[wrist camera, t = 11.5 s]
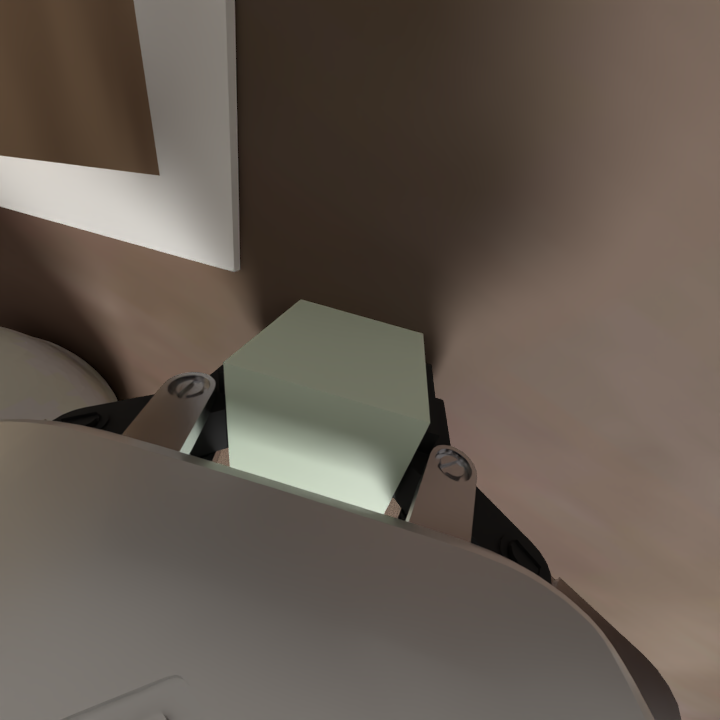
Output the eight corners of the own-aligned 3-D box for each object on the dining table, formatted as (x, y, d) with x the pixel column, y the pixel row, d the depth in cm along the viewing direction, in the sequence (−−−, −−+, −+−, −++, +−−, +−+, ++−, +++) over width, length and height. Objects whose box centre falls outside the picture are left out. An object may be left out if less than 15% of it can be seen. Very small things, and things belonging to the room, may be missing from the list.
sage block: (423, 333, 10) (430, 422, 6) (388, 423, 13) (375, 530, 9) (300, 299, 10) (222, 362, 6) (290, 394, 13) (230, 485, 9)
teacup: (-57, 331, 15) (-434, 432, 8) (38, 262, 12) (-483, 337, 5) (122, 484, 21) (-18, 618, 14) (222, 469, 17) (99, 638, 11)
